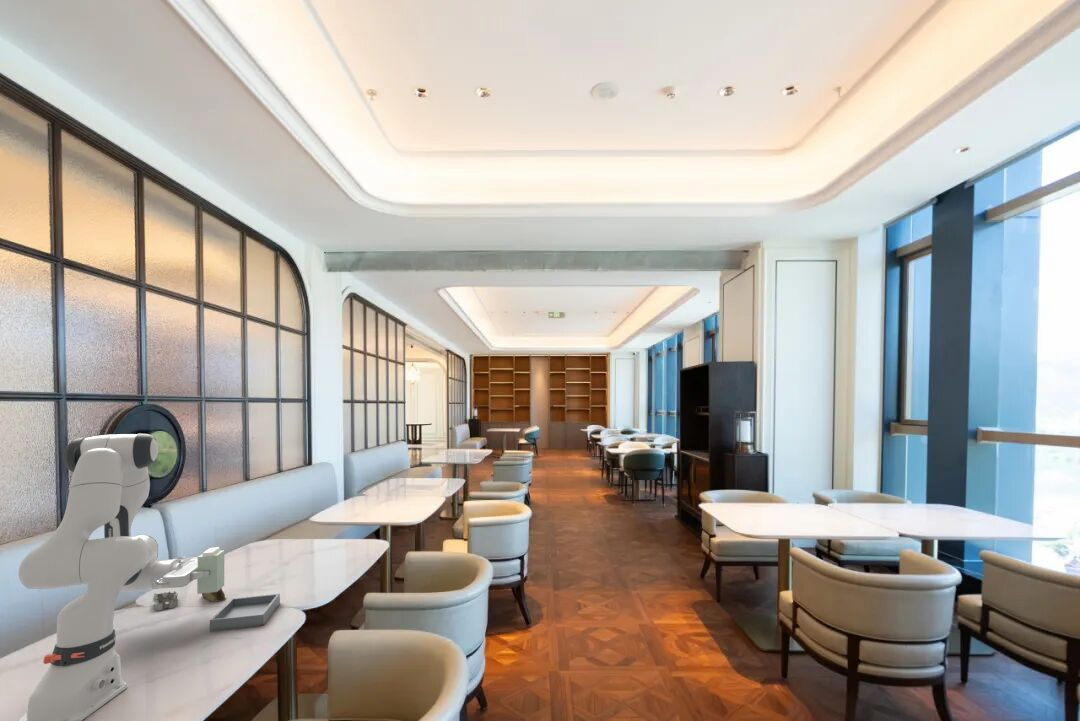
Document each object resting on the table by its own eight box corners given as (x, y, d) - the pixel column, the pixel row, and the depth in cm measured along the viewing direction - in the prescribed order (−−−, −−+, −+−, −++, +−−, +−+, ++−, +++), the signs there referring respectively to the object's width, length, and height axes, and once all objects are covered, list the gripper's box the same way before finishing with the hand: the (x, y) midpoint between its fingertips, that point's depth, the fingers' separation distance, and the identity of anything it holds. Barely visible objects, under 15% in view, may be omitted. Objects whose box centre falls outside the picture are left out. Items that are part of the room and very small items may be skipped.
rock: (193, 591, 196) (191, 596, 188) (209, 569, 200) (208, 573, 192) (220, 604, 200) (218, 609, 191) (235, 582, 203) (235, 586, 195)
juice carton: (217, 591, 173) (217, 551, 174) (197, 593, 172) (197, 553, 173) (224, 585, 179) (224, 546, 180) (205, 587, 178) (205, 548, 179)
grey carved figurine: (177, 607, 188) (177, 595, 188) (152, 612, 184) (152, 601, 184) (178, 598, 197) (178, 587, 197) (153, 603, 193) (153, 591, 193)
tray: (263, 625, 170) (263, 614, 170) (209, 631, 167) (209, 620, 167) (280, 603, 188) (279, 593, 188) (231, 608, 185) (231, 598, 185)
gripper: (152, 574, 164) (200, 570, 166) (182, 555, 184) (225, 551, 186) (152, 595, 163) (200, 590, 166) (182, 573, 183) (225, 569, 186)
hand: (214, 569), depth 176 cm, fingers closed on juice carton, 6 cm apart
